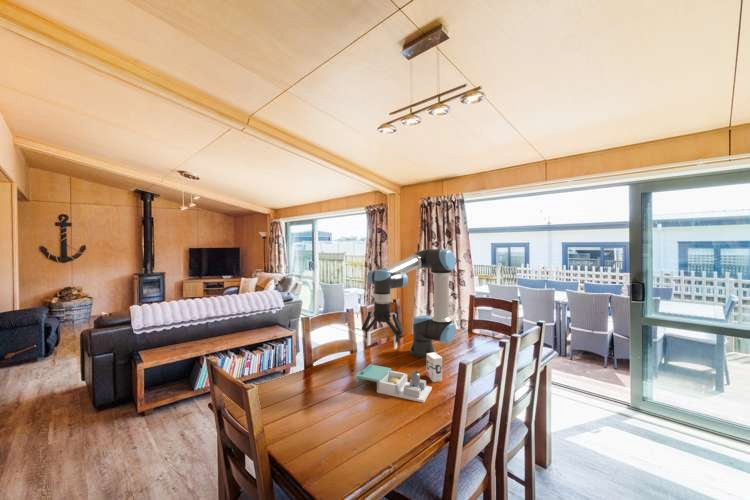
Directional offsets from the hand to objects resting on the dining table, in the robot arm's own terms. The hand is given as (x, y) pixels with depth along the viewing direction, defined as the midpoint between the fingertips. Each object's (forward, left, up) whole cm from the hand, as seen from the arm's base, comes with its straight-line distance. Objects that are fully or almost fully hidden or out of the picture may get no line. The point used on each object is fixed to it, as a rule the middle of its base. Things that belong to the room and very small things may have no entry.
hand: (381, 346), depth 150 cm
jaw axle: (0, +17, -19) cm, 25 cm away
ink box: (-19, +21, -19) cm, 34 cm away
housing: (0, +12, -19) cm, 22 cm away
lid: (0, -4, -16) cm, 16 cm away
